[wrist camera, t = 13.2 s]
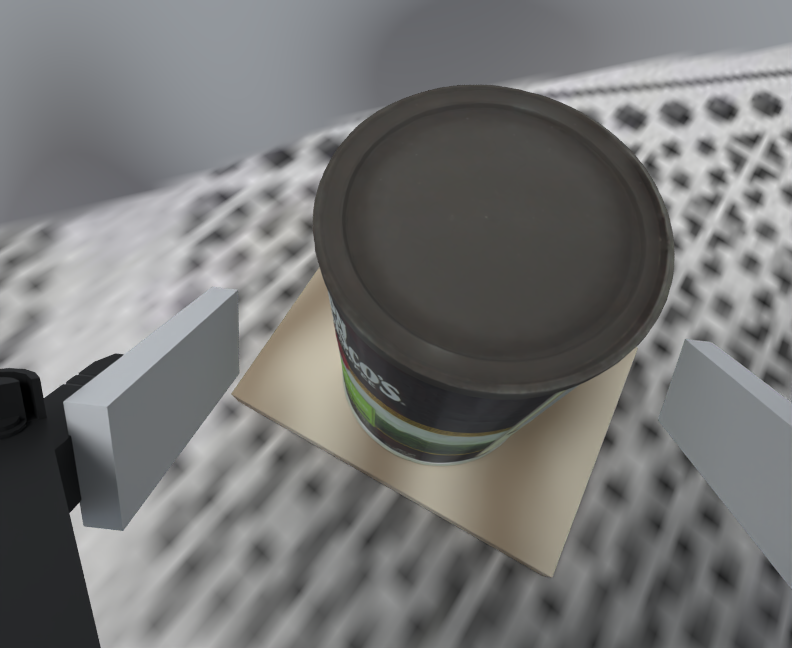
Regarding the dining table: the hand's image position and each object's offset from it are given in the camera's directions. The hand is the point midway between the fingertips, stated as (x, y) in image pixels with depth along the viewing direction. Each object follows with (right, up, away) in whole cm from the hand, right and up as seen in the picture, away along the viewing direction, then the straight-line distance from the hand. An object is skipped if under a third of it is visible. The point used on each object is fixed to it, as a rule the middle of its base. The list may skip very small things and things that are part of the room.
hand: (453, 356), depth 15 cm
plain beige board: (+1, -2, +14) cm, 14 cm away
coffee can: (+1, -2, +12) cm, 13 cm away
